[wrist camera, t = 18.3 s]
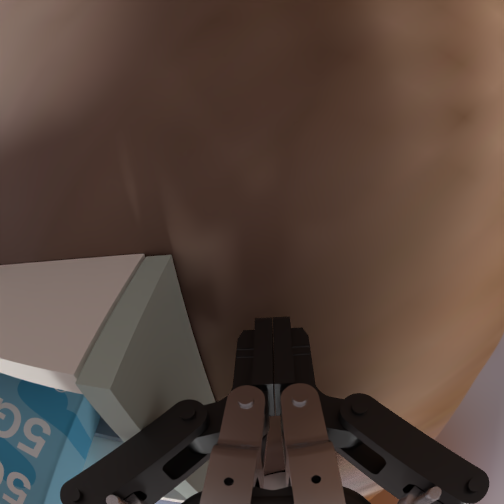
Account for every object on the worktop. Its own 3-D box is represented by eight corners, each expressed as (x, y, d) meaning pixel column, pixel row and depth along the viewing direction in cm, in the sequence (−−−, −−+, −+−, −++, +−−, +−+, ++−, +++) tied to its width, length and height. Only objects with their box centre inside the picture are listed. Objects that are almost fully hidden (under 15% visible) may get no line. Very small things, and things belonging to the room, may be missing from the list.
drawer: (240, 426, 20) (235, 511, 13) (22, 392, 21) (-3, 443, 15) (198, 251, 13) (151, 394, 6) (-55, 271, 14) (-102, 321, 8)
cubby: (207, 424, 20) (196, 504, 14) (15, 389, 22) (-9, 436, 15) (144, 253, 13) (73, 374, 7) (-59, 270, 14) (-104, 317, 8)
